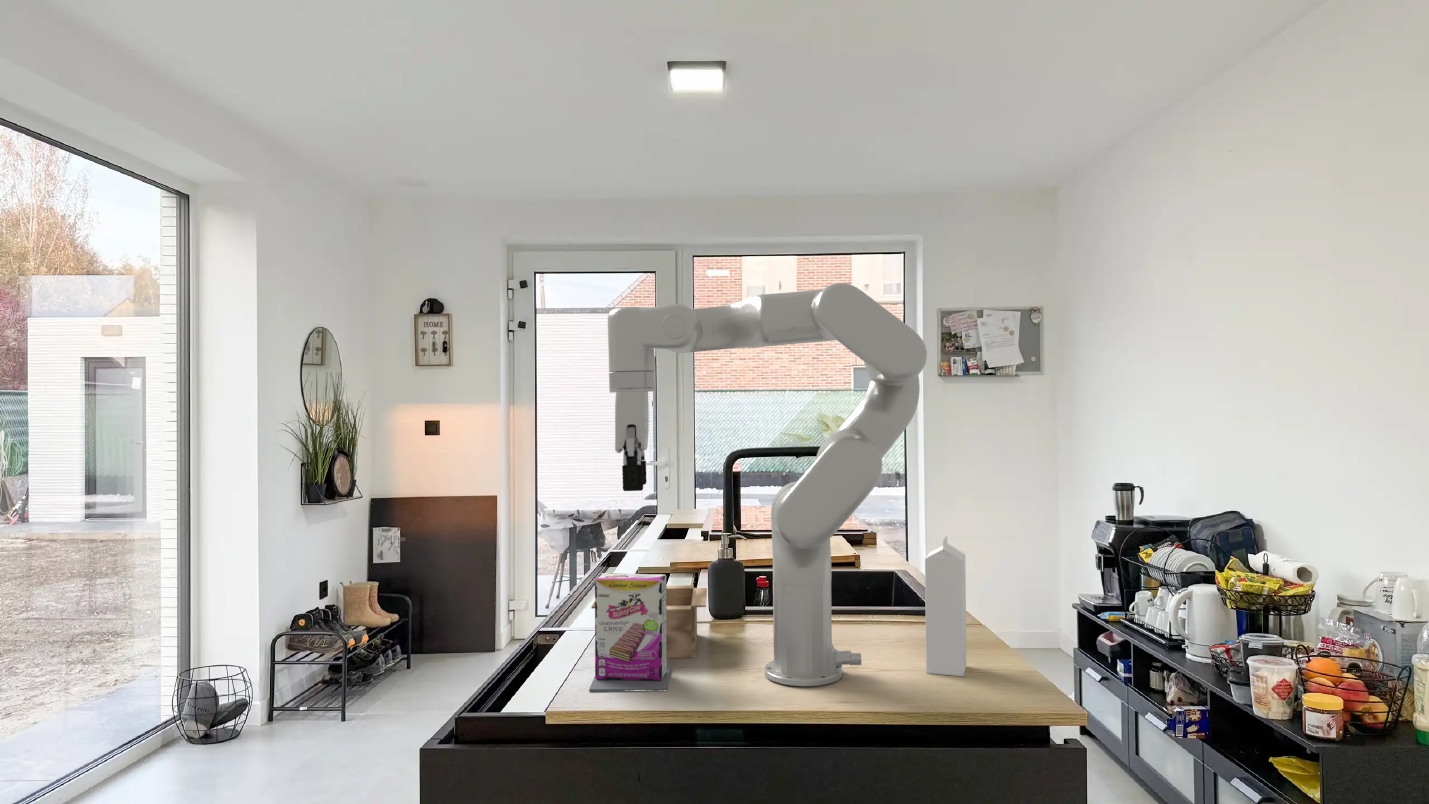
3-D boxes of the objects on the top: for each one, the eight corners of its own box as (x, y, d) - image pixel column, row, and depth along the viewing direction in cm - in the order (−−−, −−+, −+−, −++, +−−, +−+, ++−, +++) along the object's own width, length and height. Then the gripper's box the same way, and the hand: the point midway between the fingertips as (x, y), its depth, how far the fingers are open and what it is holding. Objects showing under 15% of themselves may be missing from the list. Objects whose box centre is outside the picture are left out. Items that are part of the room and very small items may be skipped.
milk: (966, 666, 148) (966, 535, 148) (963, 677, 142) (963, 540, 142) (929, 662, 150) (929, 533, 150) (925, 673, 144) (924, 538, 144)
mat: (670, 667, 149) (670, 664, 149) (666, 690, 137) (666, 688, 137) (599, 668, 149) (599, 665, 149) (589, 691, 137) (589, 689, 137)
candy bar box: (594, 680, 141) (592, 578, 141) (601, 671, 146) (600, 572, 146) (663, 682, 140) (662, 579, 140) (668, 672, 145) (666, 572, 145)
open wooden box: (707, 631, 172) (707, 585, 171) (706, 660, 152) (705, 608, 152) (604, 632, 172) (603, 586, 172) (589, 662, 152) (589, 610, 152)
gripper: (614, 384, 153) (616, 483, 153) (604, 383, 135) (607, 494, 136) (657, 383, 153) (660, 481, 153) (652, 381, 136) (655, 492, 136)
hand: (635, 487), depth 144 cm, fingers open, 9 cm apart
